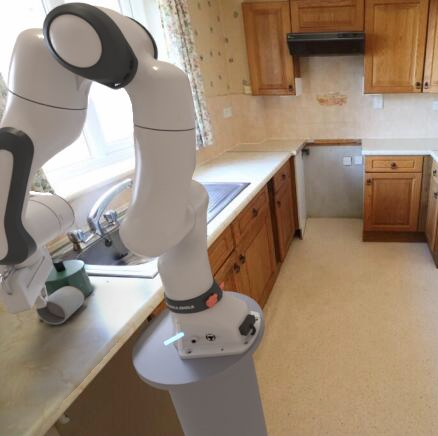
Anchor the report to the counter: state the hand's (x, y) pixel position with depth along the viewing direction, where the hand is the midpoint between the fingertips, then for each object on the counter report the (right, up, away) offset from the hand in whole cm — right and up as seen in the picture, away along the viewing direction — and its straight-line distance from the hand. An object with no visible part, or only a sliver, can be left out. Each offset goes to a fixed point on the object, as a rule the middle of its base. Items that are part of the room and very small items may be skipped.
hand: (43, 304), depth 77 cm
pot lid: (-9, +5, +17) cm, 20 cm away
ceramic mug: (-6, -6, +12) cm, 15 cm away
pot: (-9, -3, +20) cm, 22 cm away
